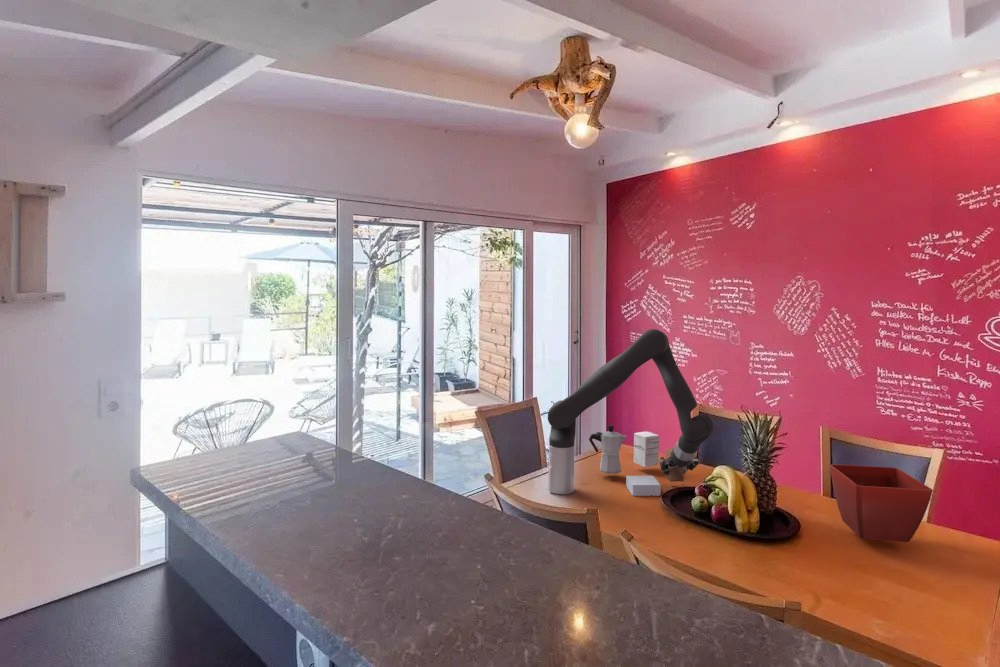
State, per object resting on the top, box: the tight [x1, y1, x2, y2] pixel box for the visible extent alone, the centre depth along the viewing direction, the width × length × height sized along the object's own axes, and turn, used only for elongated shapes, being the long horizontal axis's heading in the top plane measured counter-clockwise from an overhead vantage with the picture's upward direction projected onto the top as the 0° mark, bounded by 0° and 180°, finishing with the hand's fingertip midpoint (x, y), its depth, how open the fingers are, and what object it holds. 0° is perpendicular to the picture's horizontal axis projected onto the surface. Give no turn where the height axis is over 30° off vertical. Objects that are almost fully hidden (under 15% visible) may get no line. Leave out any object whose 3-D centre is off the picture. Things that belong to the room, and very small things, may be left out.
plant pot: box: [829, 463, 934, 543], centre depth 160 cm, size 19×19×17 cm
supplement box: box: [633, 431, 660, 468], centre depth 224 cm, size 7×7×13 cm
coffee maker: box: [588, 424, 628, 475], centre depth 216 cm, size 15×9×18 cm, turn 84°
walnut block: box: [665, 448, 685, 482], centre depth 206 cm, size 5×5×11 cm
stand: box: [625, 475, 662, 497], centre depth 202 cm, size 10×10×4 cm
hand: (673, 472), depth 208 cm, fingers open, 5 cm apart
